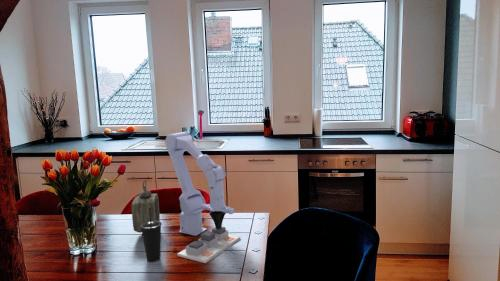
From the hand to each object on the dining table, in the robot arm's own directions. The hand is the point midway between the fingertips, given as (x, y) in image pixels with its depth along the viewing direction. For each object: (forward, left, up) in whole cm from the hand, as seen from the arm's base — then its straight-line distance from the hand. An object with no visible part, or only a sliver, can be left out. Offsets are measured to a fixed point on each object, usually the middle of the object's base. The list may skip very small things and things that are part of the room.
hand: (218, 228), depth 160 cm
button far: (0, 0, -3) cm, 3 cm away
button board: (+1, -7, -5) cm, 9 cm away
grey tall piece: (-30, -10, -5) cm, 32 cm away
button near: (0, -15, -4) cm, 15 cm away
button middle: (0, -8, -2) cm, 8 cm away
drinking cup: (-12, -25, -5) cm, 29 cm away
